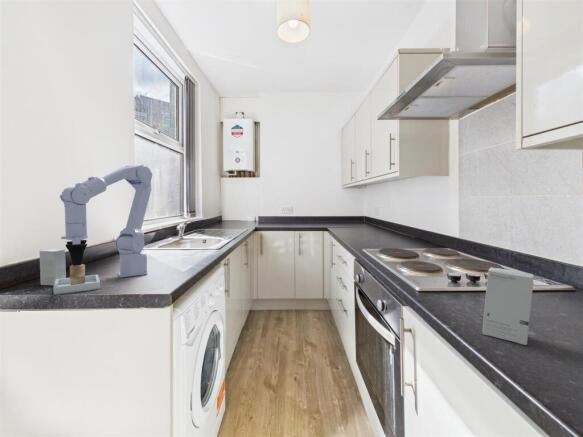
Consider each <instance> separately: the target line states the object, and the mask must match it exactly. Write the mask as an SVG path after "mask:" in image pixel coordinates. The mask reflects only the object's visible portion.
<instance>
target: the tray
mask: <svg viewBox="0 0 583 437" xmlns="http://www.w3.org/2000/svg"><path fill="white" fill-rule="evenodd" d="M52 288H53V289H52V290H53V292H52V293H53V296H58V295H65V294H72V293H79V292H86V291H92V290H100V289H101V281H100V277H99V274H91V275H85V283H84V284H76V285H70V277H66V278H64V279H56V280H55V284H54V285H53V287H52Z"/></svg>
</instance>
